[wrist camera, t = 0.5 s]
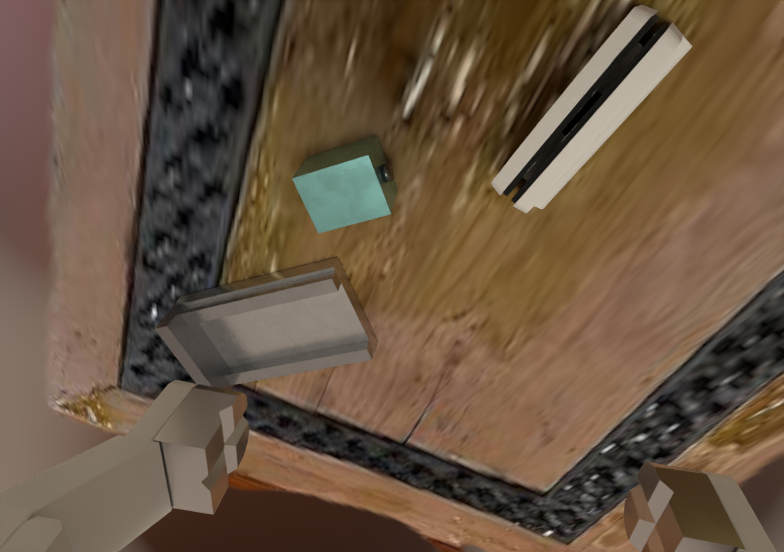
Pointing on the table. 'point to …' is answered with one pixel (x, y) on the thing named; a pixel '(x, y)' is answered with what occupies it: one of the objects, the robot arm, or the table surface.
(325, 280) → the guide channel
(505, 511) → the table surface
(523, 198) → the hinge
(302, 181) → the block
